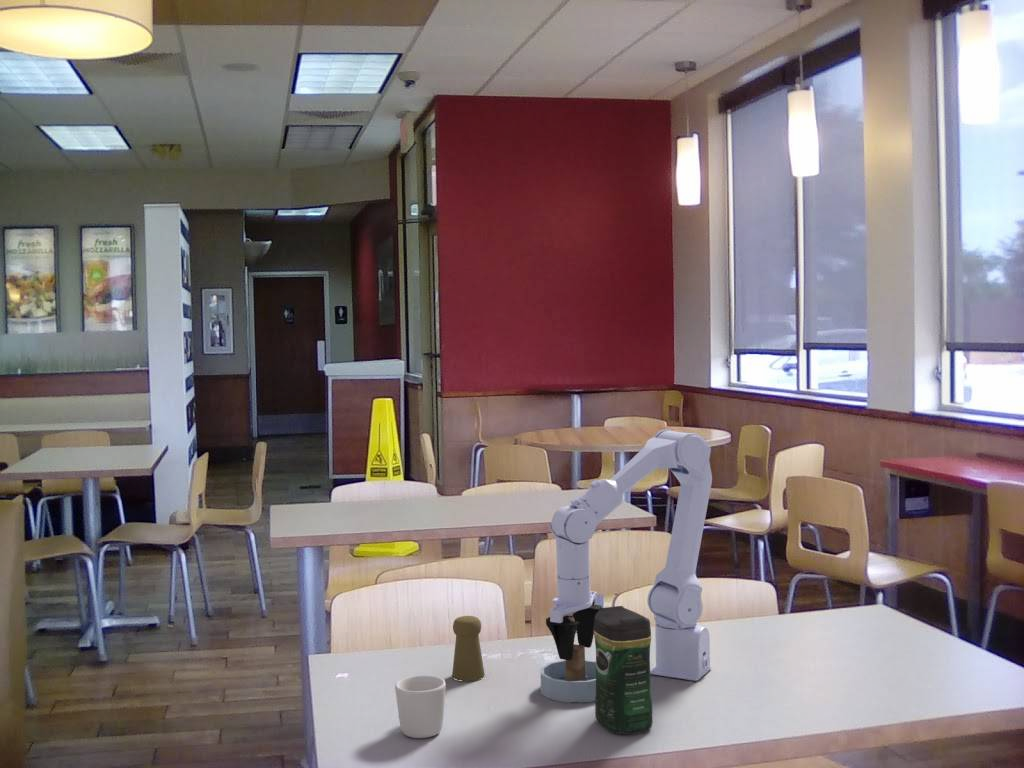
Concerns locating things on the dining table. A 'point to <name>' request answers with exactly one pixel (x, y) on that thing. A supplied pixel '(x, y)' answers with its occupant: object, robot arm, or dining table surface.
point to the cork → (467, 649)
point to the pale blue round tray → (568, 683)
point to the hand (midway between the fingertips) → (575, 652)
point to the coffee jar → (623, 670)
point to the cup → (421, 705)
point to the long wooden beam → (576, 664)
